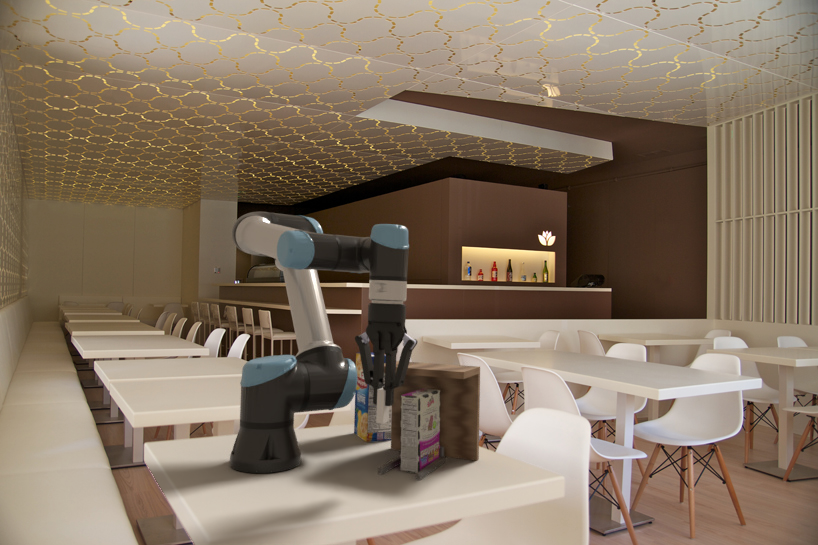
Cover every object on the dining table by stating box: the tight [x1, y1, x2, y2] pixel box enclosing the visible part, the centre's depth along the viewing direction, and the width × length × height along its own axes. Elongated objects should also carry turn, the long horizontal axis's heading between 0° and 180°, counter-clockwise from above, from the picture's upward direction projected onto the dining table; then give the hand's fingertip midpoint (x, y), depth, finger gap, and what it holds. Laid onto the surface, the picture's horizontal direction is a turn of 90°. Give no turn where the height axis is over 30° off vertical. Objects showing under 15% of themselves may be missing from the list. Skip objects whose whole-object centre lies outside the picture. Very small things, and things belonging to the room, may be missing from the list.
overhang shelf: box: [373, 360, 481, 481], centre depth 128 cm, size 22×21×22 cm
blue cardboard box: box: [353, 352, 392, 443], centre depth 154 cm, size 7×11×22 cm, turn 23°
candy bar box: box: [399, 388, 440, 474], centre depth 127 cm, size 11×5×16 cm, turn 153°
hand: (382, 421), depth 112 cm, fingers closed
